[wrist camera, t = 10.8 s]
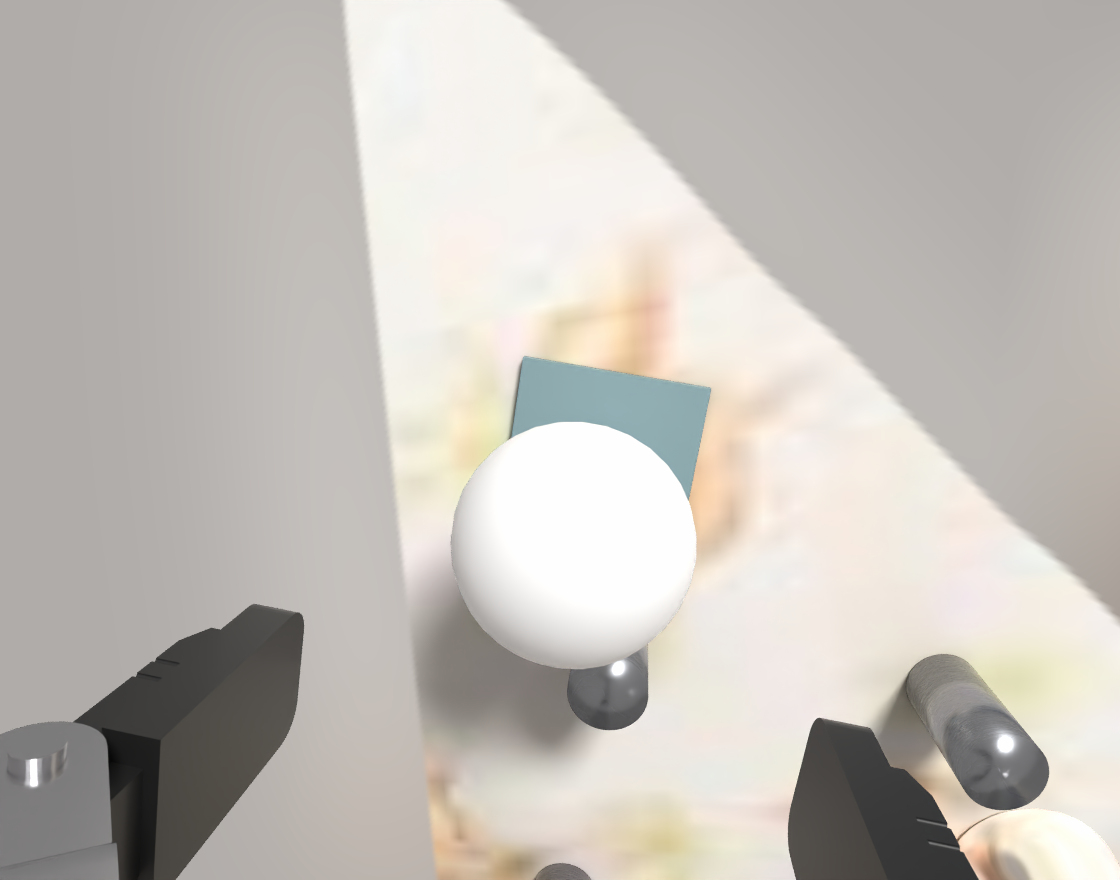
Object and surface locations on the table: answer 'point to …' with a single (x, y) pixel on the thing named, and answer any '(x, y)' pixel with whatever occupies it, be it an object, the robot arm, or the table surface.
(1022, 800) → the spacers
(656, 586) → the lightbulb
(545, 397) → the mat
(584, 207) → the table surface
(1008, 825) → the beer glass
